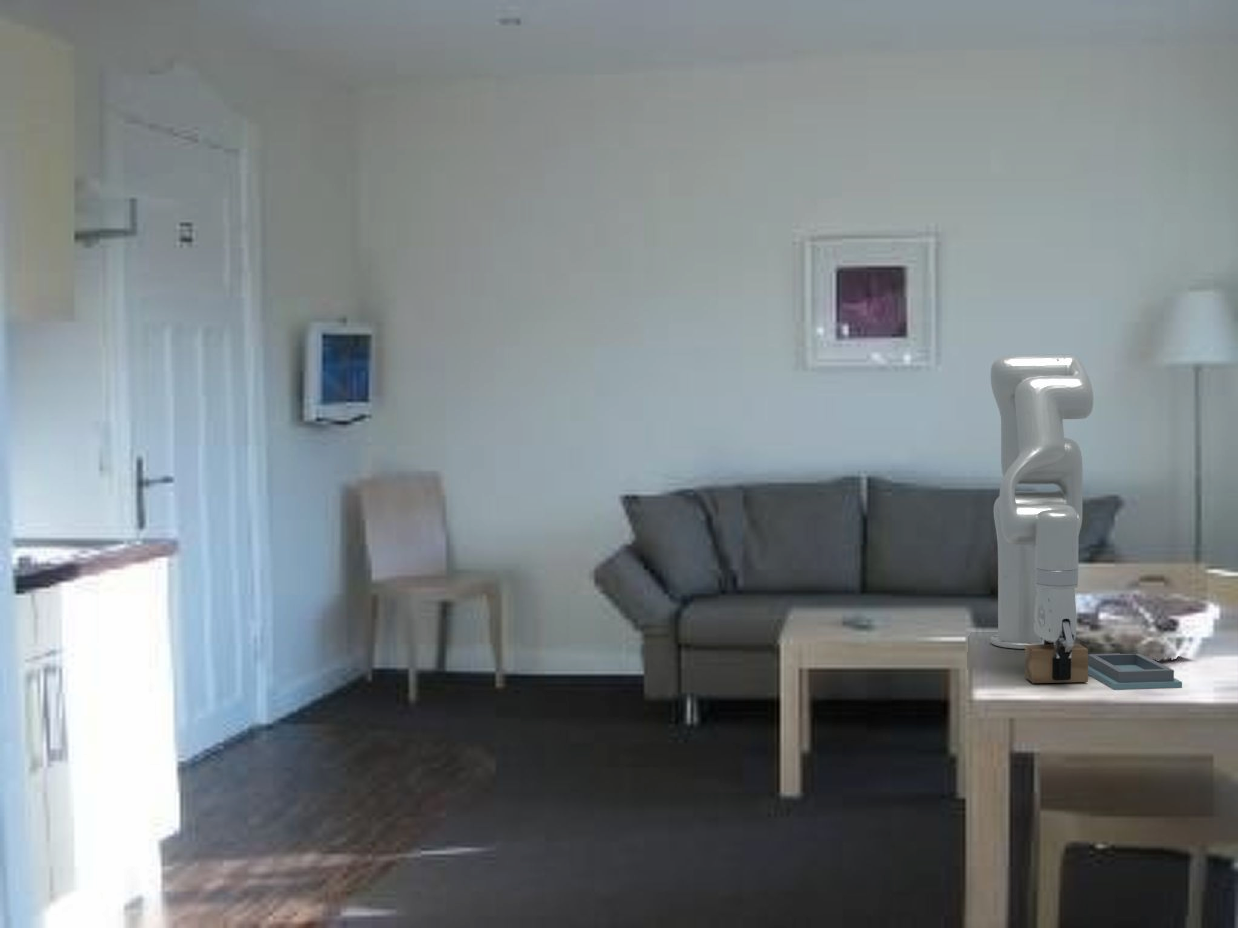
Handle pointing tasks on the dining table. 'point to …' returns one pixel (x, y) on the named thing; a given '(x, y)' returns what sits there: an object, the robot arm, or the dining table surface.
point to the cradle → (1130, 672)
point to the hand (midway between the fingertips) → (1056, 674)
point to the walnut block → (1042, 663)
